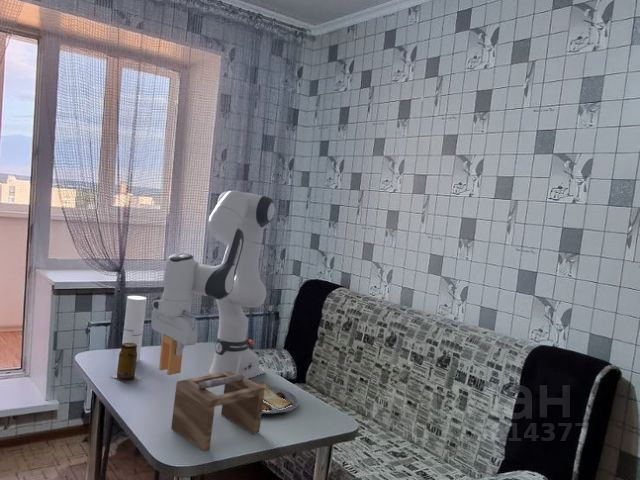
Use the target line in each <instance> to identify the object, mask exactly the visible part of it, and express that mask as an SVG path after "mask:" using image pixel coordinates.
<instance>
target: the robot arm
mask: <svg viewBox="0 0 640 480" xmlns="http://www.w3.org/2000/svg"><path fill="white" fill-rule="evenodd" d="M216 203H217V204H216V205H215V207H214V208H213V210H212V212H211V214H210V215H209V218H208V222H207V227H208V230H209V232H210V234H211V235H212V237H213V238H214V239H216V240H217V241H218V242H220V243H221V244H223V245H224V246H226V248H225V252H224V255H223V258H222V262H221V263H220V264H218V265H212V264H211V265H209V264H204V263H199V261H196V260H195V257H194V256H193V255H192V254H190V253H183V252H182V253H181V252H180V253H174V254H171V255H170V256H168V258H167V260H166V264H165V268H164V274H163V292H162V295H161V299H158V300H152V306H151V307H152V308H153V309H152V311H151V320H150V321H151V328H152V330H153V331H156V332H157V333H160V338H161V341H162V335H163V334H164V335H166V336H168V337H170V338H172V339H174V340H176V341H177V345H178V346H177V349H175V352H174V354H175V355H177V356H179V355H182V356H183V352H182V350H183V351H184V349H185V347H187V346H188V347H189V346H193V345H196V343H197V342H198V331H199V330H198V320H197V319H196V316H195V315H194V313H191V312H192V311H191V310H192V305H193V304H192V302H193V295H192V293H193V294H195V295H200V296H206V297H209V298H212V299H215V301H216V302H215V303H216V305H217V309H218V316H219V317H218V318H219V321H218V330H217V336H216V339H215V345H214V347H215V348H214V349H215V351H214V356H213V359H212V363H211V366H210V369H208V373H209V375H213V374H218V373H223V372H228V371H233V372H235V373H237V374H243V376H244V377H245V378H247V379H249V378H250V379H252V378H255V377H257V375H258V376H261V375H264V374H265V370H264V368H263V367H261V366H260V358H259V356H258V355H257V354H256V353H255V352H254V351H253V350H251V348H249V345H250V346H253V345H254V343H255V341H254V340H252V339H251V338H250V339H248V338H247V335H248V326H249V320H248V317H247V315H246V314H245V313H244V311H243V307H245V308H260V307H261V306H262V305H263V303H264V302H265V300H266V298H267V288H266V286H265V284H264V283H263V281H262V280H261V279H262V278H261V275H260V269H259V262H260V261H259V260H260V255H261V250H262V244H263V238H264V237H263V236H264V227H265V226H267V225H268V224H270V222H271V221H273V218H274V216H275V212H276V204H275V203H274V201H273V199H272V198H271V197H268V196H266V195H260V194H256V193H251V192H243V191H240V190H235V189H233V190H227V191H226V190H225V191H224V192H222V193H221V194H220V195H219V196H218V199H217V202H216ZM260 374H261V375H260ZM250 379H249V380H250Z"/></svg>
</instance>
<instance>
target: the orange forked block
mask: <svg viewBox="0 0 640 480" xmlns="http://www.w3.org/2000/svg"><path fill="white" fill-rule="evenodd" d="M177 346H178V345H177V341H176V340H174V339H172V338H170V337H168V336H166V335H164V334H163V335H162V340H161V346H160V347H161V348H160V356H159V369H158V370H160V371H166V370H167V371H166V372H167V373H166V375H168V376H172V375H177V374H181V370H182V360H183V359H182V358H183V354H182V355H179V356H177V355H175V354H174V352H175V349H177ZM183 352H184V349H183V350H182V353H183Z"/></svg>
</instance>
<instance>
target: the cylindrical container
mask: <svg viewBox="0 0 640 480" xmlns="http://www.w3.org/2000/svg"><path fill="white" fill-rule="evenodd" d="M126 297H127V298H126V307H125V317H124V326H123V332H122V333H123V335H122V341H121V343H122V344H123V343H134V344H136V345H137V351H136V352H137V360H136V363H139V362H140V361H141V360H140V359H141V351H142V343H143V335H144V334H143V333H144V325H145V314H146V309H147V297H146V296H141V295H128V296H126ZM122 344H121V345H122Z"/></svg>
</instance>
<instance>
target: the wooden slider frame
mask: <svg viewBox="0 0 640 480" xmlns="http://www.w3.org/2000/svg"><path fill="white" fill-rule="evenodd" d="M222 385H224V387H223V394H218V395H217V394H216V393H213V392H212V391H209V388H213V387H214V388H215V387H219V386H222ZM264 391H265V387H263V386H261V385H259V383H256V382H254V381H253V380H251V379H247V378H245V377H244V376H243V374H237V373H235V372H233V371H228V372H223V373H218V374H213V375H211V374H209V375H203V376H198V377H193V378H188V379H183V380H179V381H178V380H177V381H176V385H175V391H174V392H175V394H174V401H173V402H174V403H173V408H172V409H173V410H172V419H171V427H170V428H171V429H172V430H173V431H174V432H176V433H177V434H178V435H180V436H181V437H183V438H184V439H186V440H187V441H189V443H191V444H193V445H194V446H195V447H197V448H198V449H200V450H201V451H202V452H205V451H209V450H210V449H211V441H212V434H213V433H212V432H213V423H214V416H215V409H216V408H215V407H218V406H221V413H220V415H221V416H222V415H223V417H224V416H225V417H224V418H226V419H227V418H228V419H227V420H229V419H230V422H232V421H233V422H232V423H234V422H235V423H234V424H235V425H237V424H238V426H239V425H240V426H239V427H241V428H242V427H243V429H244V428H245V429H244V430H245V431H247V430H248V431H247V432H249V431H250V432H249V433H251V432H252V433H253V434H252V433H251V434H252V435H256V434H255V433H257V434H259V433H260V428H261V421H262V414H263V413H262V412H263V411H262V406H263V398H264ZM258 432H259V433H258Z"/></svg>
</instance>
